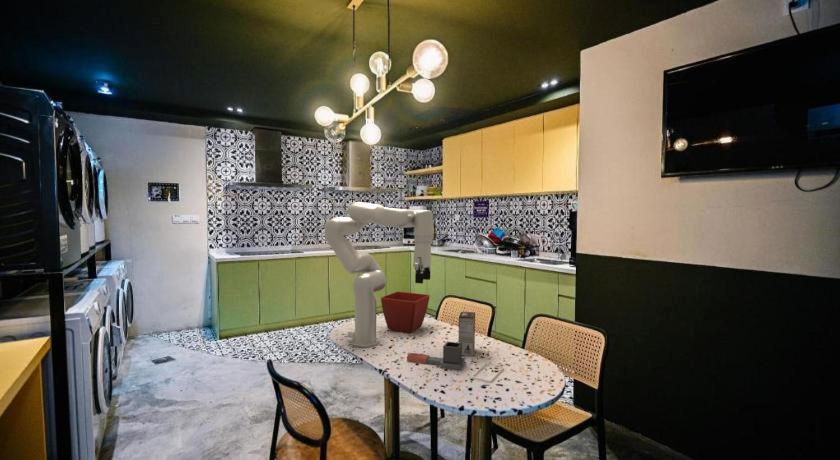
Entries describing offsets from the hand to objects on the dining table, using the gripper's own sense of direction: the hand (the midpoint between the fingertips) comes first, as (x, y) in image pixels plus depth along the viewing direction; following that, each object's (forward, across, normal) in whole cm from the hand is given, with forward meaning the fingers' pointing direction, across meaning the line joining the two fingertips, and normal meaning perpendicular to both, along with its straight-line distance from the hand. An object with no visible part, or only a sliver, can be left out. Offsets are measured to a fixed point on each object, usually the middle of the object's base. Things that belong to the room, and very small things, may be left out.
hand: (422, 281), depth 162 cm
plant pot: (+31, -31, -19) cm, 48 cm away
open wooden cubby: (+28, +8, +15) cm, 33 cm away
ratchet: (+30, +8, +7) cm, 32 cm away
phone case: (+31, +11, +29) cm, 44 cm away
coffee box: (+31, -9, +17) cm, 36 cm away
